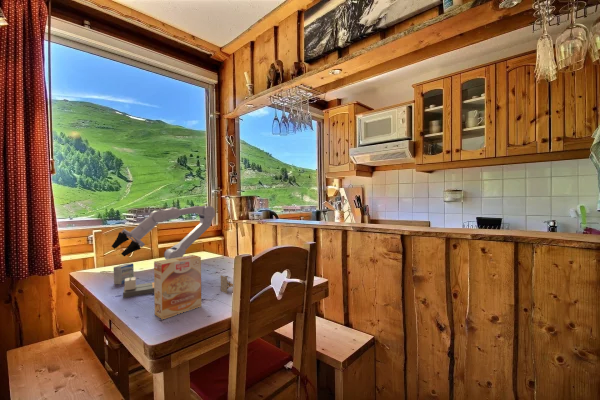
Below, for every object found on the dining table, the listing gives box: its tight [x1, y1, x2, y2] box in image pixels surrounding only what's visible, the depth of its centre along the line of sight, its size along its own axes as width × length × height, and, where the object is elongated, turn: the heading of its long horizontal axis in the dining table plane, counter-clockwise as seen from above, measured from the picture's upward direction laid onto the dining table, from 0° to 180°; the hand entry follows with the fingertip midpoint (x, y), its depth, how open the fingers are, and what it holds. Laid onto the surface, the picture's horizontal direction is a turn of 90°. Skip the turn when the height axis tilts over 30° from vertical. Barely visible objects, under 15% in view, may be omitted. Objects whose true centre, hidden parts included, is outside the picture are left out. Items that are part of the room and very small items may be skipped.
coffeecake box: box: [153, 254, 202, 320], centre depth 101 cm, size 15×7×20 cm, turn 139°
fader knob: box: [124, 276, 137, 290], centre depth 120 cm, size 4×5×4 cm
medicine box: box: [113, 262, 135, 285], centre depth 137 cm, size 8×4×9 cm, turn 168°
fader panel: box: [122, 281, 154, 298], centre depth 123 cm, size 15×10×2 cm, turn 120°
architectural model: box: [220, 275, 234, 295], centre depth 121 cm, size 3×7×7 cm, turn 44°
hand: (117, 251), depth 124 cm, fingers open, 7 cm apart
